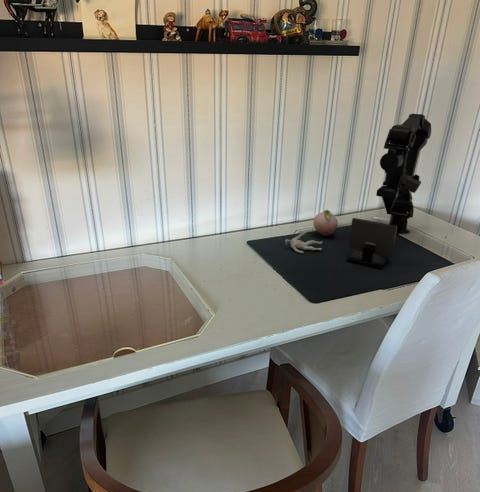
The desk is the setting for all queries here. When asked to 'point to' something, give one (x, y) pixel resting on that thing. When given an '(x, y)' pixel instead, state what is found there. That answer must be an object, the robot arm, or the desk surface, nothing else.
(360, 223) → the monitor screen
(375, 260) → the monitor stand
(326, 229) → the decorative fruit
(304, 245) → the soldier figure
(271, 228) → the desk surface
